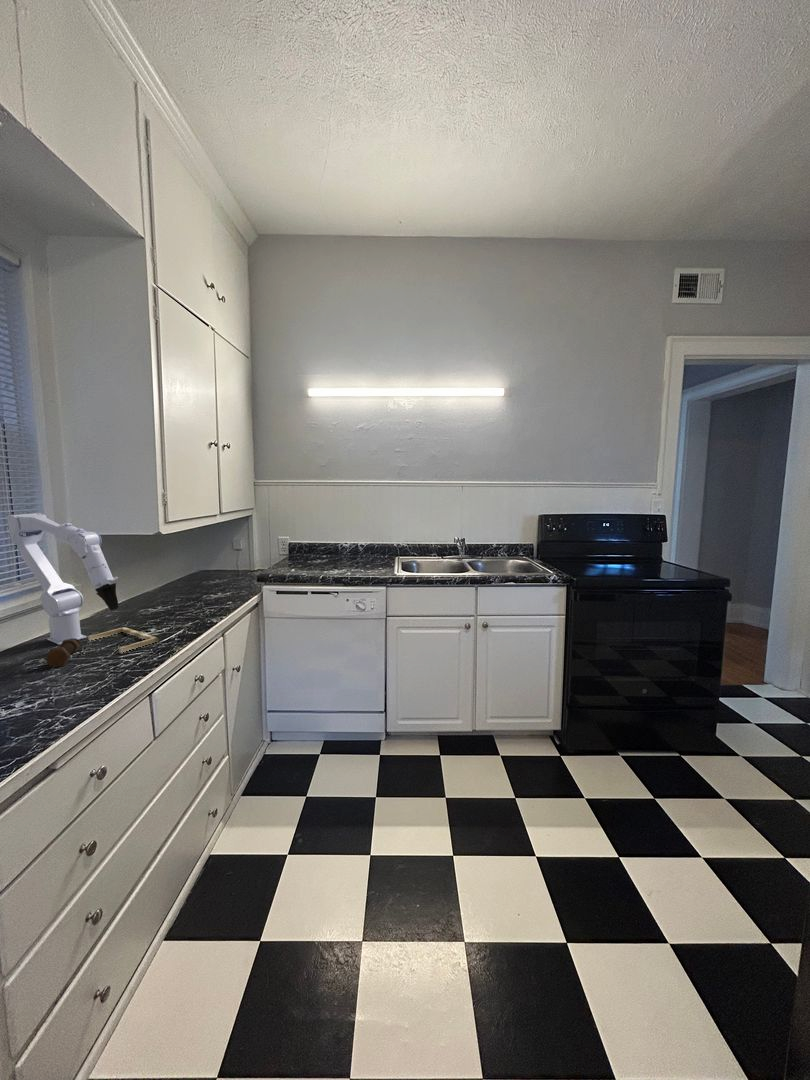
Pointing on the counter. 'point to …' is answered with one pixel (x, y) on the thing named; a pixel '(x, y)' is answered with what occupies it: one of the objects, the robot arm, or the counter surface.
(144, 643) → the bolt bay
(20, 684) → the counter surface
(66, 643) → the bolt
